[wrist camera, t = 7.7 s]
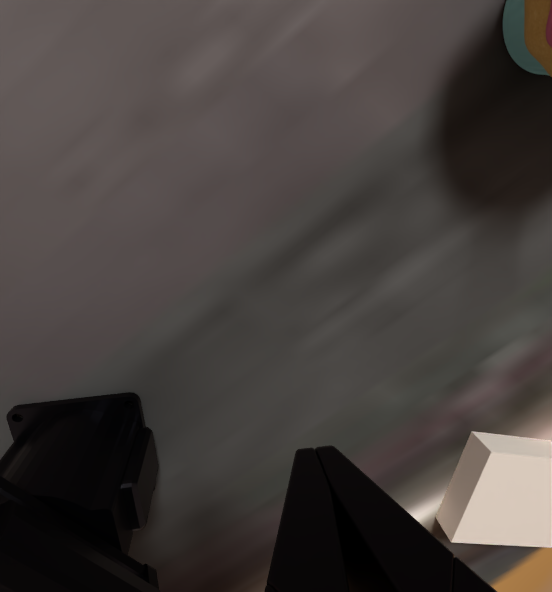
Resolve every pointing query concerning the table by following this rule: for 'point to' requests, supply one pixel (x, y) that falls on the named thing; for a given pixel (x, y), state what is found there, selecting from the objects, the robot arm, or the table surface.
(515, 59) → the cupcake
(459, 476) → the tile
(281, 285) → the table surface
